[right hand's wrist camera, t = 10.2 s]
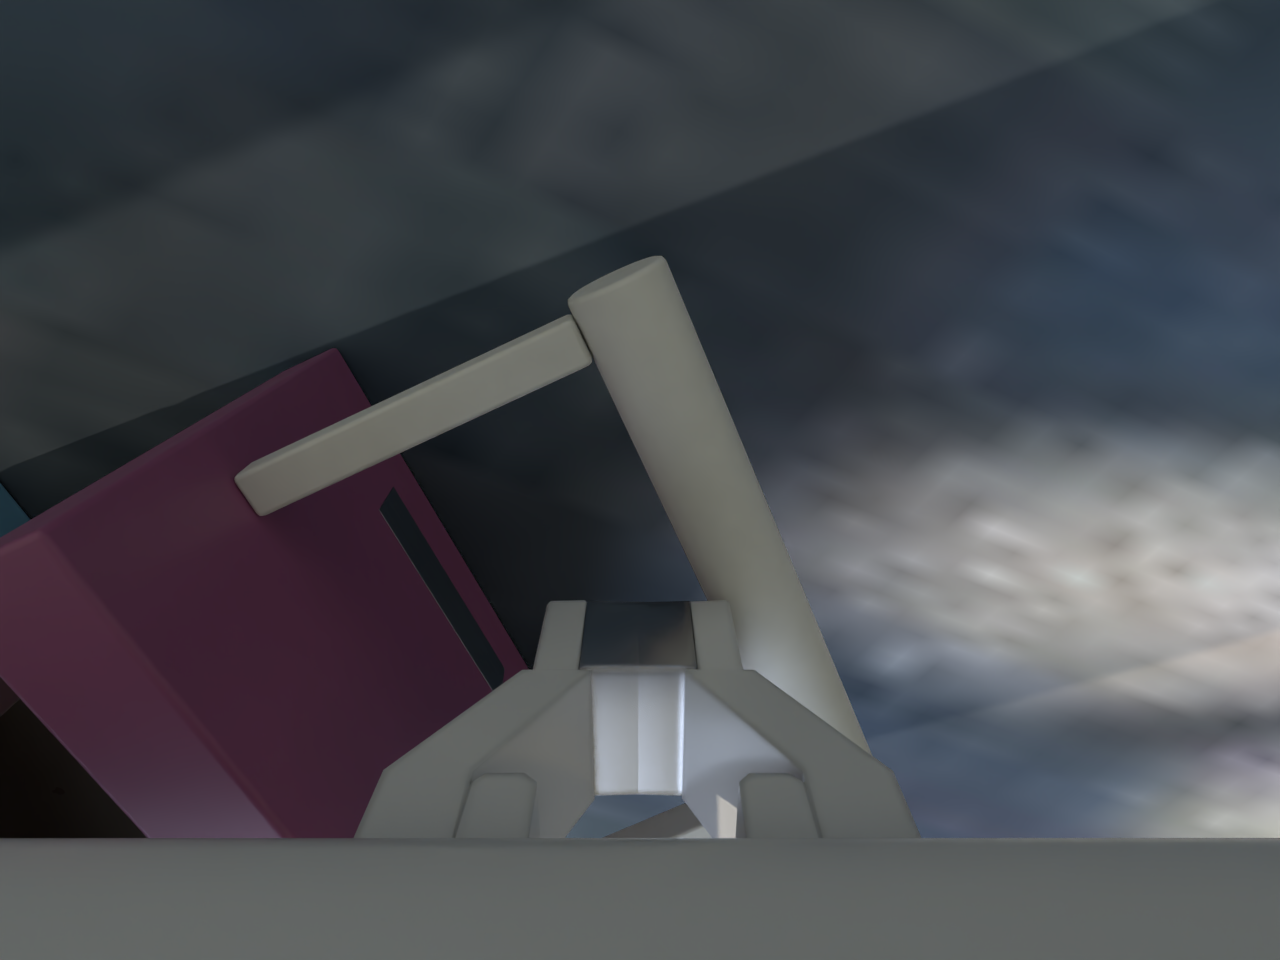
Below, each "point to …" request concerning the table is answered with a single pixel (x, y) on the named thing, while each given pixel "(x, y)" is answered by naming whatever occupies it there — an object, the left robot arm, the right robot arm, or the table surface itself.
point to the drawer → (341, 589)
